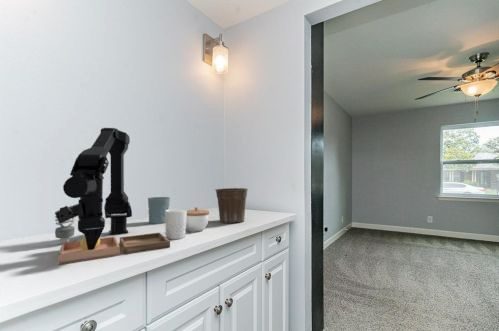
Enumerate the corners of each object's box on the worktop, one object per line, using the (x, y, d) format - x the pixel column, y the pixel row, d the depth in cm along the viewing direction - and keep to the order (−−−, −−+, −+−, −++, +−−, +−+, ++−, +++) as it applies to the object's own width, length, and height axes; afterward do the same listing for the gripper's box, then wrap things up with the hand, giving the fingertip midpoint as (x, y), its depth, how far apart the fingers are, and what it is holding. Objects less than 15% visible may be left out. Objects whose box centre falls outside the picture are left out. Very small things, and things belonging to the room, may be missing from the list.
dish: (62, 250, 77) (62, 242, 77) (114, 243, 85) (114, 236, 85) (58, 264, 65) (58, 255, 65) (119, 255, 73) (119, 246, 73)
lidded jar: (181, 228, 109) (181, 206, 110) (205, 226, 114) (205, 205, 114) (185, 233, 100) (185, 209, 100) (212, 231, 104) (212, 208, 104)
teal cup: (143, 223, 122) (143, 198, 122) (160, 219, 131) (160, 196, 131) (157, 225, 117) (157, 199, 117) (174, 221, 125) (174, 197, 126)
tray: (119, 243, 86) (119, 237, 86) (159, 238, 93) (159, 232, 93) (125, 254, 74) (125, 247, 74) (170, 247, 81) (170, 240, 81)
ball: (80, 250, 76) (80, 233, 76) (99, 247, 79) (99, 231, 79) (79, 254, 72) (80, 236, 72) (100, 251, 74) (100, 234, 75)
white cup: (180, 240, 89) (181, 212, 90) (160, 239, 91) (160, 211, 91) (190, 235, 97) (190, 209, 97) (171, 234, 99) (171, 208, 99)
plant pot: (210, 223, 120) (210, 189, 121) (221, 218, 136) (221, 187, 136) (243, 225, 117) (243, 190, 117) (251, 219, 132) (250, 188, 133)
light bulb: (78, 242, 87) (79, 207, 88) (62, 246, 82) (63, 209, 82) (67, 240, 89) (68, 206, 90) (50, 244, 84) (51, 208, 84)
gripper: (60, 194, 79) (59, 244, 79) (54, 199, 64) (52, 262, 63) (101, 192, 85) (100, 239, 85) (105, 196, 70) (104, 254, 69)
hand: (90, 247), depth 75 cm, fingers open, 9 cm apart
